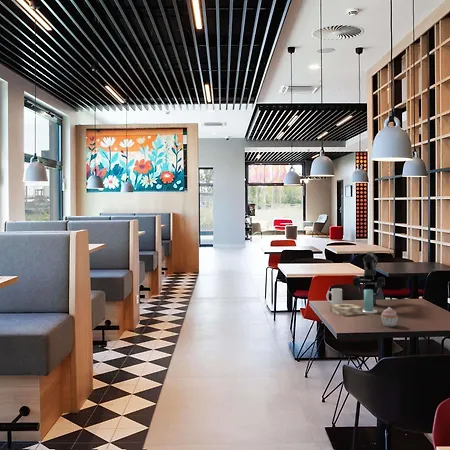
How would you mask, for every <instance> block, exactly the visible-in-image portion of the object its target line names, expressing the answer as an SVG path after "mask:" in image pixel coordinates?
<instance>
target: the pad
mask: <svg viewBox="0 0 450 450" xmlns="http://www.w3.org/2000/svg"><path fill="white" fill-rule="evenodd" d="M377 313H378V309H374V308H373V311H364V308H363V314H377Z"/></svg>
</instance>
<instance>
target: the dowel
mask: <svg viewBox="0 0 450 450" xmlns="http://www.w3.org/2000/svg"><path fill="white" fill-rule="evenodd" d="M373 294H374V293H373V290H371V289H365V290H364V292H363V309H364V311H373V309H374V305H373Z"/></svg>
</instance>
